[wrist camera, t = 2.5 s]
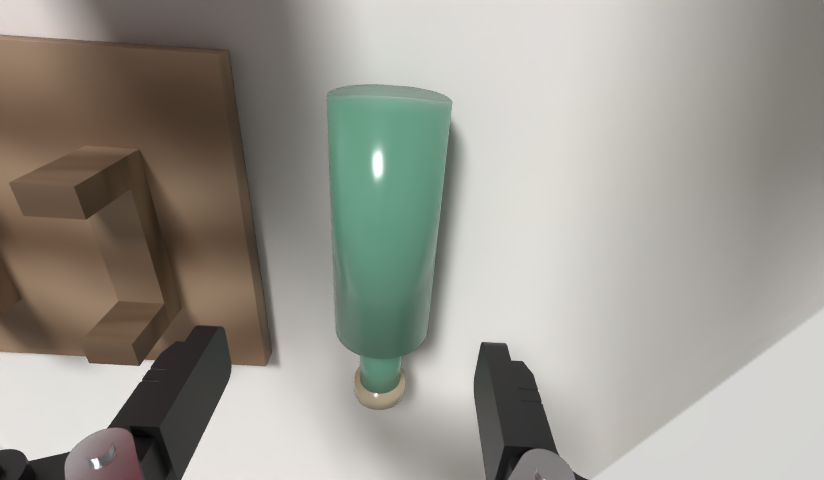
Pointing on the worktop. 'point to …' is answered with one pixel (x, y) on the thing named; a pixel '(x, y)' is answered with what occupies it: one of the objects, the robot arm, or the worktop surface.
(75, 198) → the walnut bottle rack
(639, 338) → the worktop surface
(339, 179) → the green bottle
